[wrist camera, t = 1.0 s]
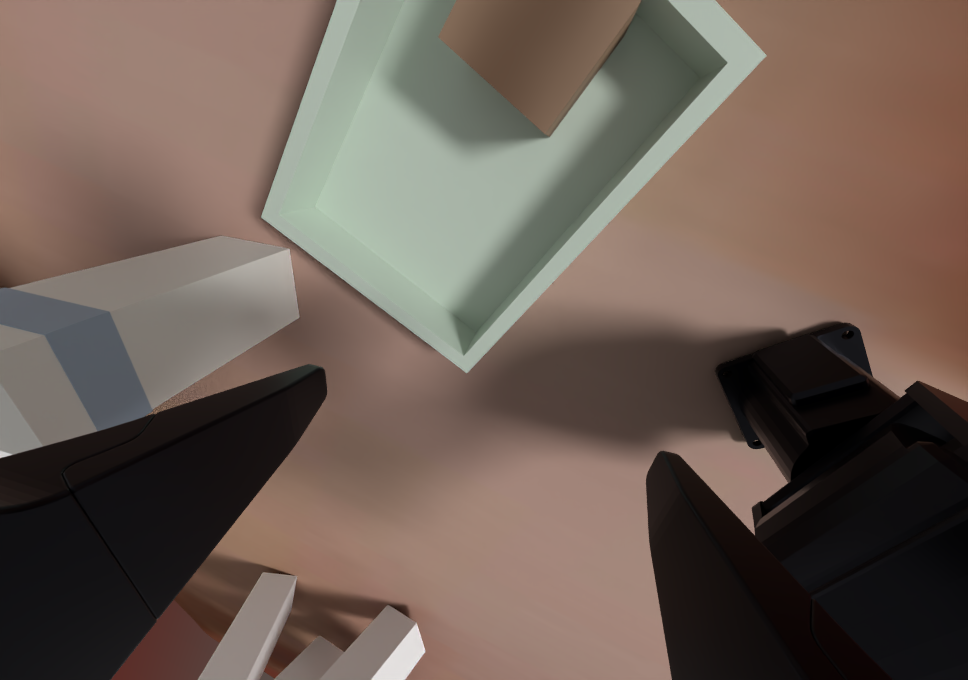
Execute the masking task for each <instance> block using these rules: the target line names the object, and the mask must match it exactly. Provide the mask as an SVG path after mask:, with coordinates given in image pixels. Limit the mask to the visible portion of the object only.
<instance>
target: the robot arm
mask: <svg viewBox="0 0 968 680" xmlns="http://www.w3.org/2000/svg"><path fill="white" fill-rule="evenodd" d="M846 331H849V332H848V333H847V334H846V335H844V336H842V334H843V333H844V332H846ZM728 370H729V371H730V372H729V373H727V374H723V372H725V371H728ZM715 373H716V376H717V378H718V380H719V382H720V385H721V387H722V389H723V391H724V394H725V396H726V398H727V400H728V403H729V405H730V407H731V409H732V412H733V414H734V416H735V418H736V421H737V423H738V425H739V427H740V430H741V432H742V434H743V436H744V439H745V441H746V442H747V444H748V446H749V447H750V448H752V449H761V448H766V450H767V451H768V453H769V454H770V456H771V457H772V459H773V460H774V462H775V463H776V465H777V466H778V468H779V470H780V471H781V473H782V474H783V476H784V477H785V479H786V480H787V482H788V484H786V485H785V486H784V487H782V488H781V489H780V490H779V491H777V492H776V493H775V494H773V495H772V496H771V497H769V498H768V499H767V500H765V501H764V502H763V501H760V502H758V503H757V504H756V505H754V506H753V507H752V513H753V520H754V527H755V535H754V534H753V533H752V532H751V531H750V530H749V529H748V528H747V527H746V526H745V525H744V524H743V523H742V522H741V520H740V519H739V518H738V517H737V516H736V515H735V514H734V513H733V512H732V511H731V510H730V509H729V508H728V507H727V506H726V504H725V503H724V502H723V501H722V500H721V499H720V498H719V497H718V496H717V495H716V494H715V493H714V492H713V491H712V490H711V489H710V487H709V486H708V485H707V484H706V483H705V482H704V481H703V480H702V479H701V478H700V477H699V476H698V475H697V474H696V473H695V472H694V470H693V469H692V468H691V467H690V466H689V465H688V464H687V463H686V462H685V461H684V460H683V459H682V458H681V457H680V456H679V455H678V454H675V453H671V452H666V451H660V452H659V453H658V454H657V456H656V458H655V459H654V461H653V463H652V465H651V467H650V469H649V471H648V473H647V477H646V491H647V510H648V530H649V543H650V550H651V557H652V563H653V569H654V575H655V581H656V587H657V593H658V599H659V605H660V611H661V617H662V623H663V629H664V635H665V641H666V647H667V653H668V659H669V665H670V671H671V677H672V680H968V402H966V401H964V400H962V399H959V398H957V397H955V396H952V395H950V394H948V393H946V392H943V391H941V390H939V389H936V388H934V387H932V386H929V385H927V384H925V383H923V382H920V381H916V382H915V383H914V384H913V385H911V386H910V387H909V388H907V389H906V390H905V392H906V394H905V395H904V396H902V397H901V398H900V397H899V396H897V395H896V394H895V393H893V392H892V391H891V390H889V389H888V388H887V387H885V386H884V385H883V384H881V383H880V382H879V381H877V380H876V379H875V378H873V376H872V372H871V368H870V365H869V361H868V357H867V354H866V350H865V347H864V343H863V339H862V336H861V332H860V330H859V328H857V327H856V326H854V325H852V324H850V323H841V324H838V325H835V326H832V327H829V328H826V329H823V330H820V331H817V332H814V333H811V334H807V335H804V336H801V337H798V338H795V339H792V340H789V341H786V342H783V343H780V344H777V345H774V346H771V347H768V348H765V349H762V350H759V351H757V352H755V353H752V354H749V355H746V356H744V357H741V358H738V359H735V360H732V361H729V362H726V363H723V364H721V365H719V366H718V367H717V368H716V370H715ZM326 395H327V385H326V375H325V370H324V369H323V368H322V367H320V366H316V365H312V364H307V365H304V366H301V367H298V368H295V369H292V370H289V371H285V372H282V373H279V374H276V375H273V376H270V377H267V378H264V379H261V380H257V381H254V382H251V383H248V384H245V385H242V386H239V387H236V388H233V389H229V390H226V391H223V392H220V393H217V394H214V395H211V396H208V397H205V398H201V399H198V400H195V401H192V402H189V403H186V404H183V405H180V406H177V407H173V408H170V409H167V410H164V411H161V412H158V413H157V414H151V415H148V416H145V417H142V418H139V419H136V420H133V421H130V422H126V423H123V424H120V425H117V426H113V427H110V428H107V429H104V430H100V431H97V432H93V433H89V434H86V435H82V436H79V437H75V438H72V439H68V440H65V441H61V442H57V443H54V444H50V445H46V446H43V447H39V448H35V449H32V450H28V451H24V452H21V453H17V454H13V455H10V456H6V457H2V458H0V680H111V679H112V677H113V676H114V675H115V673H116V672H117V671H118V670H119V668H120V667H121V666H122V665H123V663H124V662H125V661H126V660H127V658H128V657H129V656H130V654H131V653H132V652H133V651H134V649H135V648H136V647H137V646H138V644H139V643H140V642H141V641H142V639H143V638H144V637H145V636H146V634H147V633H148V632H149V630H150V629H151V628H152V627H153V625H154V624H155V623H156V621H157V619H158V618H159V617H160V616H161V615H162V614H163V612H164V611H165V610H166V609H167V607H168V606H169V605H170V604H171V602H172V601H173V600H174V598H175V597H176V596H177V595H178V593H179V592H180V591H181V590H182V588H183V587H184V586H185V585H186V583H187V582H188V581H189V579H190V578H191V577H192V576H193V574H194V573H195V572H196V571H197V569H198V568H199V567H200V566H201V564H202V563H203V562H204V561H205V559H206V558H207V557H208V555H209V554H210V553H211V552H212V550H213V549H214V548H215V547H216V545H217V544H218V543H219V542H220V540H221V539H222V538H223V536H224V535H225V534H226V533H227V531H228V530H229V529H230V528H231V526H232V525H233V524H234V523H235V521H236V520H237V519H238V517H239V516H240V515H241V514H242V512H243V511H244V510H245V509H246V507H247V506H248V505H249V504H250V502H251V501H252V500H253V499H254V497H255V496H256V495H257V493H258V492H259V491H260V490H261V488H262V487H263V486H264V485H265V483H266V482H267V481H268V480H269V478H270V477H271V476H272V474H273V473H274V472H275V471H276V469H277V468H278V467H279V466H280V464H281V463H282V462H283V461H284V459H285V458H286V457H287V456H288V454H289V453H290V452H291V450H292V449H293V448H294V446H295V445H296V444H297V442H298V441H299V439H300V438H301V436H302V435H303V433H304V432H305V430H306V428H307V427H308V425H309V424H310V422H311V421H312V419H313V417H314V416H315V414H316V413H317V411H318V410H319V408H320V406H321V405H322V403H323V402H324V400H325V398H326ZM755 440H758V441H755ZM753 441H754V442H753Z"/></svg>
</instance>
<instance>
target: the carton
mask: <svg viewBox="0 0 968 680" xmlns="http://www.w3.org/2000/svg"><path fill="white" fill-rule="evenodd" d="M298 318H300V316H299V309H298V302H297V296H296V289H295V282H294V276H293V269H292V262H291V256H290V249H289V248H284V247H279V246H274V245H268V244H263V243H258V242H253V241H248V240H242V239H237V238H232V237H227V236H218V237H214V238H210V239H205V240H201V241H197V242H193V243H189V244H185V245H181V246H177V247H173V248H169V249H165V250H161V251H157V252H153V253H149V254H145V255H141V256H137V257H133V258H129V259H125V260H121V261H117V262H113V263H109V264H104V265H100V266H96V267H92V268H88V269H84V270H80V271H76V272H72V273H68V274H64V275H60V276H56V277H52V278H48V279H44V280H40V281H36V282H32V283H28V284H24V285H20V286H16V287H12V288H6V287H4V288H0V451H3V452H6V453H10V454H17V453H21V452H24V451H28V450H32V449H35V448H39V447H43V446H46V445H50V444H54V443H57V442H61V441H65V440H68V439H72V438H75V437H79V436H82V435H86V434H89V433H93V432H97V431H100V430H104V429H107V428H110V427H113V426H117V425H120V424H123V423H126V422H130V421H133V420H136V419H139V418H142V417H144V416H146V415H147V414H149V413H150V412H152V411H153V410H152V409H154V408H155V407H157V406H159V405H160V404H162V403H163V402H165V401H167V400H168V399H170V398H171V397H173V396H175V395H176V394H178V393H179V392H181V391H183V390H184V389H186V388H187V387H189V386H191V385H192V384H194V383H195V382H197V381H199V380H200V379H202V378H204V377H205V376H207V375H208V374H210V373H212V372H213V371H215V370H216V369H218V368H220V367H221V366H223V365H224V364H226V363H228V362H229V361H231V360H232V359H234V358H236V357H237V356H239V355H240V354H242V353H244V352H245V351H247V350H248V349H250V348H252V347H253V346H255V345H256V344H258V343H260V342H261V341H263V340H265V339H266V338H268V337H269V336H271V335H273V334H274V333H276V332H277V331H279V330H281V329H282V328H284V327H285V326H287V325H289V324H290V323H292V322H293V321H295V320H297V319H298Z"/></svg>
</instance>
